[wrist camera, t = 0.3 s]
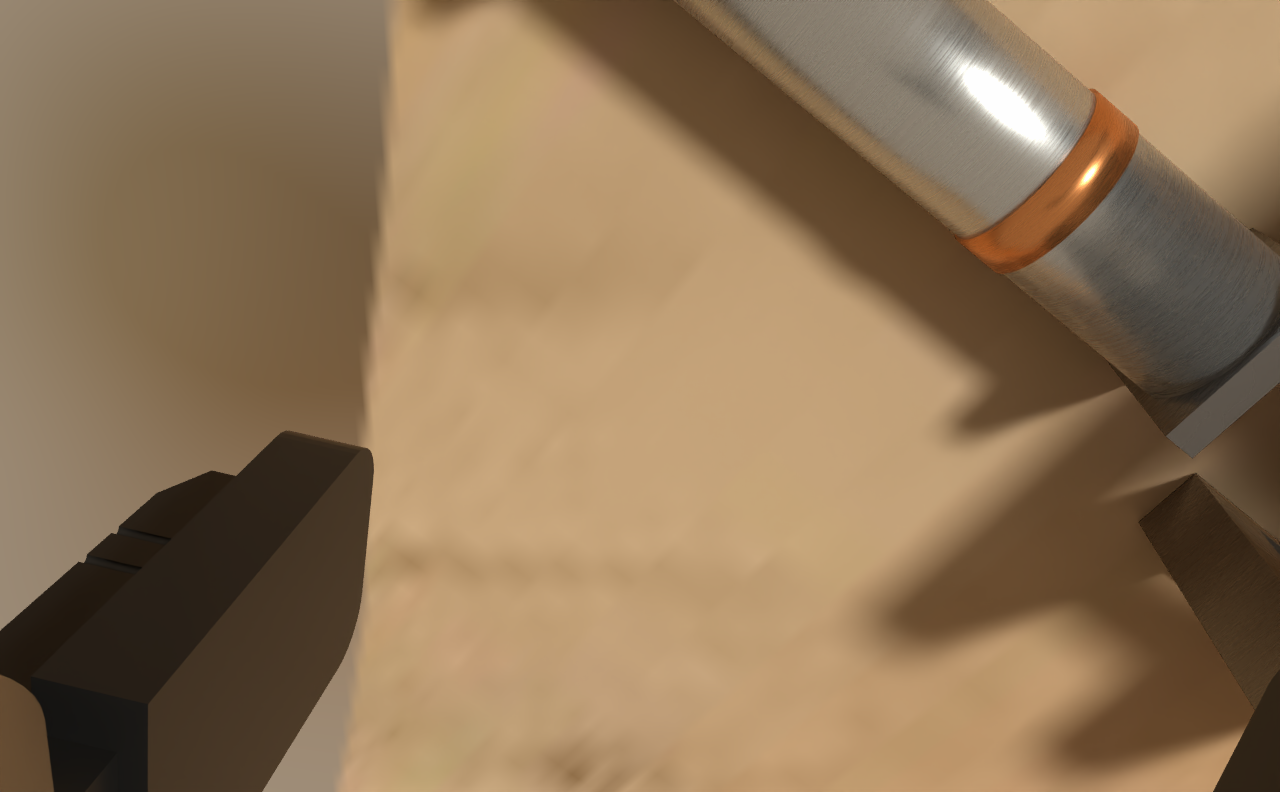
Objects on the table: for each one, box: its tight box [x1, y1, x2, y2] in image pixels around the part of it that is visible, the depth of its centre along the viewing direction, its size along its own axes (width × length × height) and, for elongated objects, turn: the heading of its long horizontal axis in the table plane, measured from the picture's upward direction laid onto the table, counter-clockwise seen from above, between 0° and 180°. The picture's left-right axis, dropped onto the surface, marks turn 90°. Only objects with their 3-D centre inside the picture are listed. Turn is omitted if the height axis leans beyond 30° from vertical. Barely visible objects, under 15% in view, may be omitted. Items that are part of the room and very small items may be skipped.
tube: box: [674, 0, 1280, 458], centre depth 30 cm, size 6×22×6 cm, turn 52°
